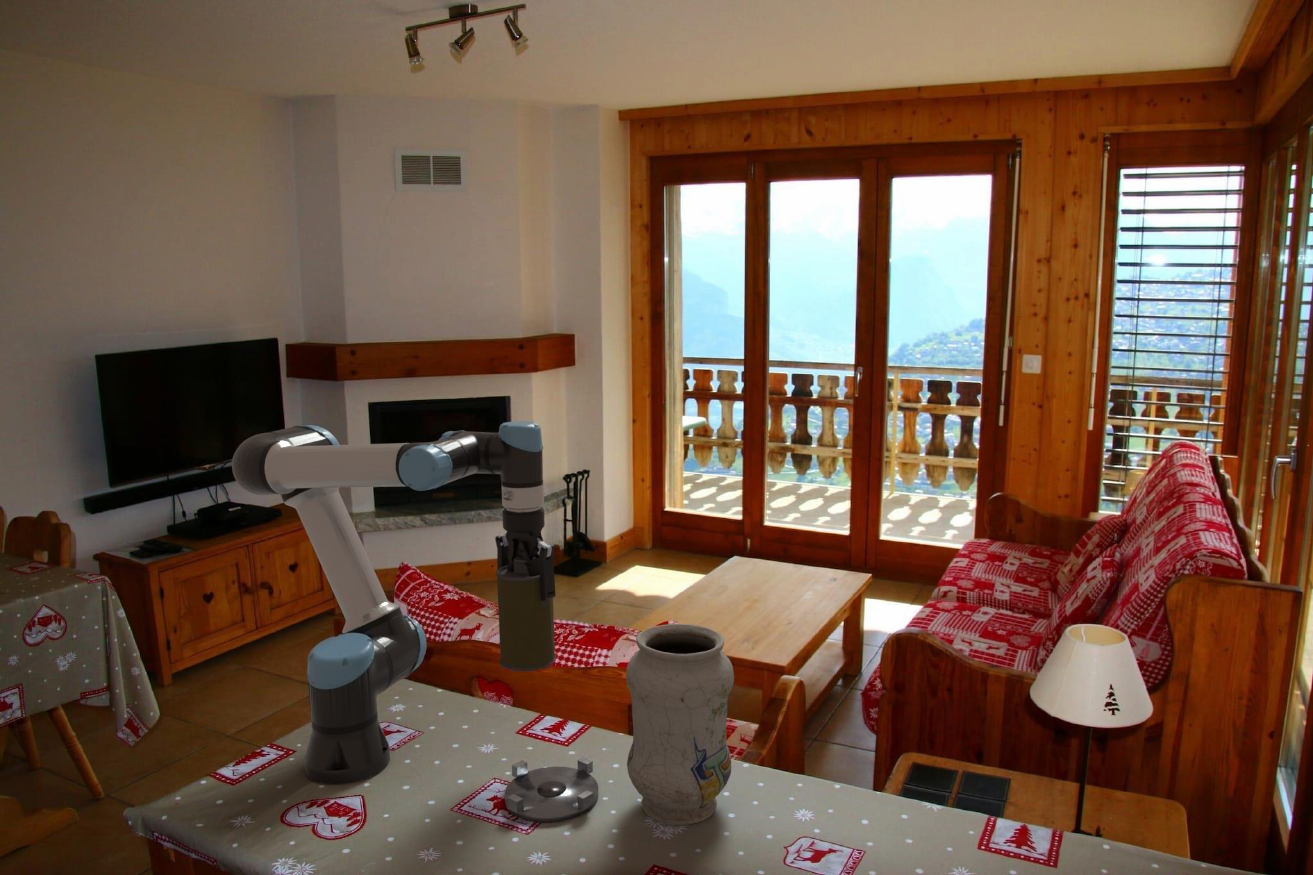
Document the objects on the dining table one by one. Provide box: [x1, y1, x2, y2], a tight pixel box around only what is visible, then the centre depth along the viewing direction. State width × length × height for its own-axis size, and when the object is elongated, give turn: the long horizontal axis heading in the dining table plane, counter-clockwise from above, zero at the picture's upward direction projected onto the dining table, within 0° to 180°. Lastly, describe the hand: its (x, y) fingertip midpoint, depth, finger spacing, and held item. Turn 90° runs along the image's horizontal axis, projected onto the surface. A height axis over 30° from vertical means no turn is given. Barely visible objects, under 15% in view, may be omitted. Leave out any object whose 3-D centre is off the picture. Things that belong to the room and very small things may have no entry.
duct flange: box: [504, 756, 599, 824], centre depth 165 cm, size 18×18×4 cm
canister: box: [495, 556, 557, 672], centre depth 176 cm, size 11×10×20 cm
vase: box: [625, 623, 735, 826], centre depth 159 cm, size 18×18×30 cm
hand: (527, 629), depth 176 cm, fingers open, 6 cm apart
